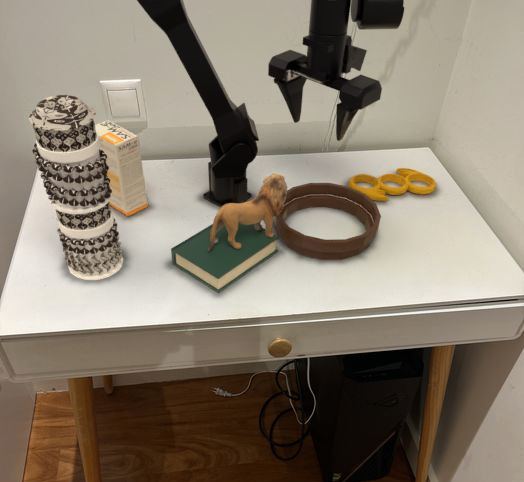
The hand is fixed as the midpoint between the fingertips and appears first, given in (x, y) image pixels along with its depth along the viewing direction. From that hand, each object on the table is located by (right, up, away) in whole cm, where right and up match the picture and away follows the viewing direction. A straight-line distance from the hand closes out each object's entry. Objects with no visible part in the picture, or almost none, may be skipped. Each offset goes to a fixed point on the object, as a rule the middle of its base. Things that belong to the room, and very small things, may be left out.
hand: (317, 130), depth 95 cm
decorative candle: (-36, -24, -7) cm, 43 cm away
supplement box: (-34, -11, +5) cm, 36 cm away
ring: (+1, -17, +1) cm, 17 cm away
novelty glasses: (+15, -7, +12) cm, 20 cm away
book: (-15, -22, -5) cm, 27 cm away
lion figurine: (-12, -19, -6) cm, 23 cm away
